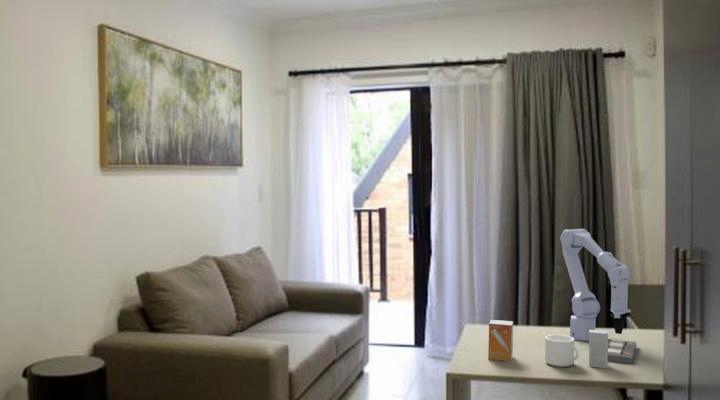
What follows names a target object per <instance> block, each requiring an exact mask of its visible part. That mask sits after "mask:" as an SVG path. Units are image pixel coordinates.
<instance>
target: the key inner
mask: <svg viewBox="0 0 720 400" xmlns="http://www.w3.org/2000/svg"><path fill="white" fill-rule="evenodd" d="M611 339H612V340H611V342H615V343H623V345H625V341H626V338H619V337H612V338H611Z"/></svg>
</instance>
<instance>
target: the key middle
mask: <svg viewBox="0 0 720 400" xmlns="http://www.w3.org/2000/svg"><path fill="white" fill-rule="evenodd" d="M609 348H610V349H618V350H623V343H615V342H610V344H609Z"/></svg>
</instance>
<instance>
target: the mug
mask: <svg viewBox="0 0 720 400" xmlns="http://www.w3.org/2000/svg"><path fill="white" fill-rule="evenodd" d="M578 358H579V350H578V349H577V347H576V346H575V339H574V338H572V337H570V335H564V334H549V335H546V336H545V337H544V360H545V362H546V363H547V364H549V365H550V366H553V367H559V368H566V367H570V366H573V364H574V363H575V361H576V360H577V359H578Z"/></svg>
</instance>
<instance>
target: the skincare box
mask: <svg viewBox="0 0 720 400" xmlns="http://www.w3.org/2000/svg"><path fill="white" fill-rule="evenodd" d="M608 339H609V334H608V331H607V330H598V329H595V330H589V341H588V342H589V343H588V350H589V351H588V367H590V368H603V369H608V366H609V365H608V364H609V363H608V362H609V361H608Z"/></svg>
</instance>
